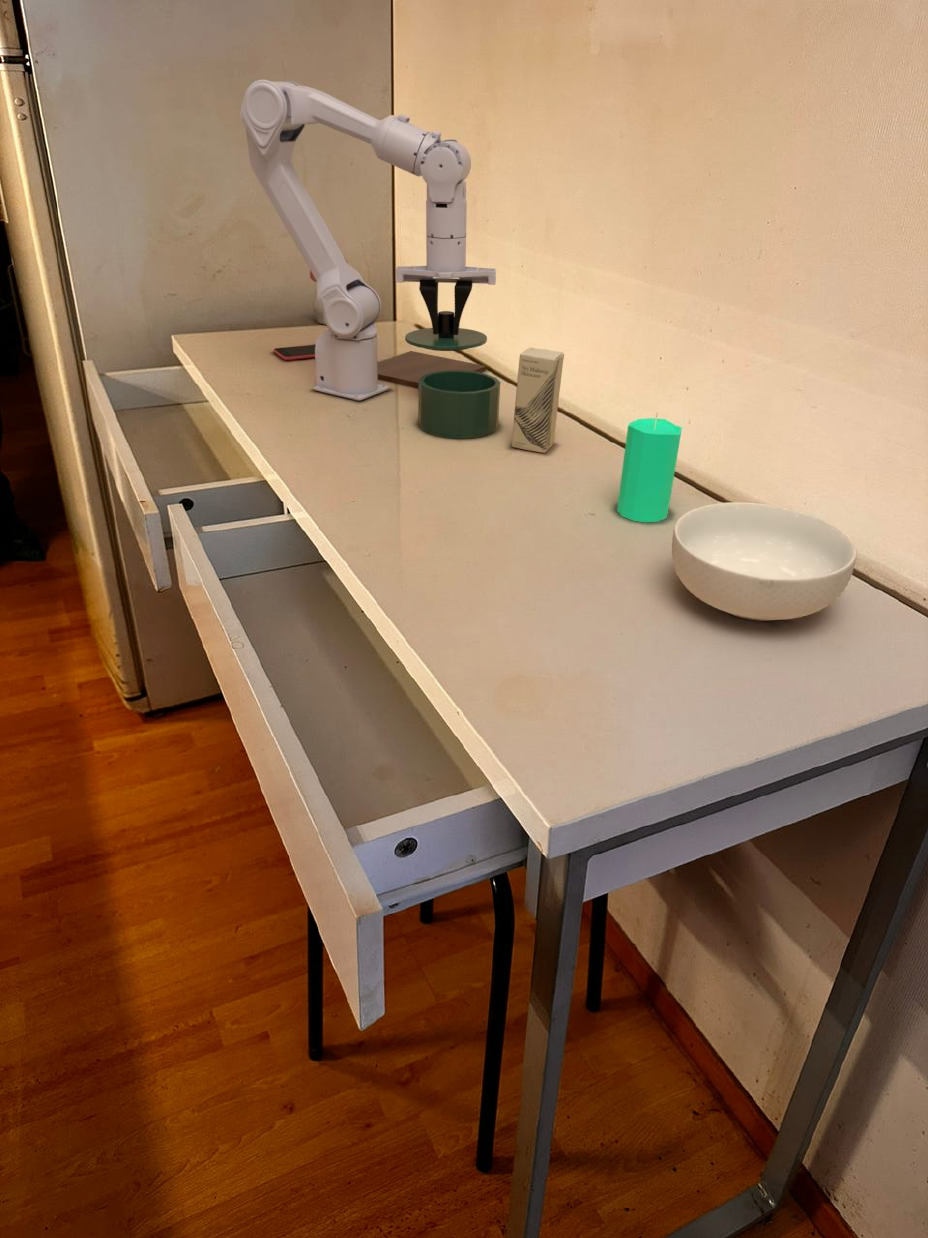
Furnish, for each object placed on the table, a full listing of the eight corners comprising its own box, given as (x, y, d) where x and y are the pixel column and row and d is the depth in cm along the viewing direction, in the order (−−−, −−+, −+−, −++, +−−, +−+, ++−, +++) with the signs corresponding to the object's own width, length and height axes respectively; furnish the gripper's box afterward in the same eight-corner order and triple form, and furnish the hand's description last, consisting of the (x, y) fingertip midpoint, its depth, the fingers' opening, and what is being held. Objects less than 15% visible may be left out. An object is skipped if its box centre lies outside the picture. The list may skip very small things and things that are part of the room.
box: (510, 448, 123) (516, 353, 116) (520, 438, 127) (527, 345, 120) (547, 454, 121) (555, 358, 115) (556, 444, 125) (565, 351, 118)
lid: (388, 345, 135) (387, 313, 133) (437, 330, 144) (437, 300, 141) (456, 358, 129) (456, 325, 127) (502, 342, 138) (503, 311, 135)
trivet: (356, 373, 152) (356, 369, 151) (410, 355, 163) (410, 350, 163) (435, 391, 145) (435, 386, 144) (486, 370, 156) (486, 365, 156)
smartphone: (358, 350, 162) (284, 357, 156) (358, 353, 163) (284, 360, 157) (343, 341, 168) (271, 347, 161) (343, 344, 168) (271, 351, 162)
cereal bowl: (694, 548, 98) (705, 487, 94) (853, 588, 91) (872, 525, 87) (638, 613, 85) (648, 546, 82) (818, 667, 78) (838, 596, 75)
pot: (403, 427, 129) (403, 382, 125) (446, 408, 137) (447, 365, 134) (470, 444, 124) (472, 398, 120) (511, 423, 132) (514, 379, 129)
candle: (637, 525, 102) (652, 423, 96) (606, 506, 107) (619, 407, 101) (678, 517, 105) (695, 417, 99) (647, 498, 109) (661, 401, 103)
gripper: (392, 238, 125) (394, 338, 132) (496, 240, 125) (493, 340, 131) (398, 231, 131) (400, 327, 138) (497, 234, 131) (494, 329, 138)
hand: (445, 333), depth 135 cm, fingers closed on lid, 2 cm apart
